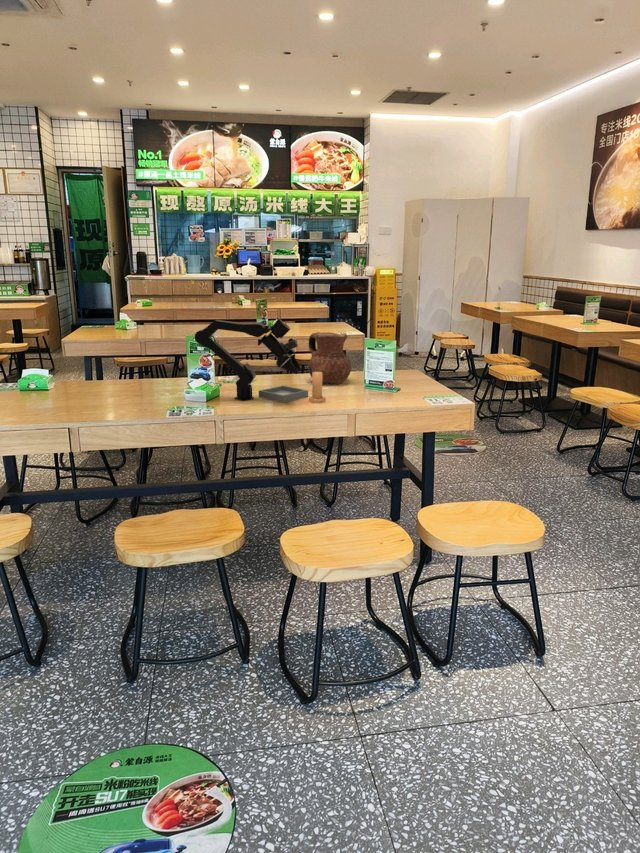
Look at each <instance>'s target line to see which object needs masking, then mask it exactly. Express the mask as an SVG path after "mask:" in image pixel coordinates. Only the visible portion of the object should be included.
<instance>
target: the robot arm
mask: <svg viewBox="0 0 640 853" xmlns="http://www.w3.org/2000/svg"><path fill="white" fill-rule="evenodd" d="M218 330H222V331H230V332H236V333H237V332H238V333H244V334H246V335H249V336H252V337H255V338H258V339H257V346H261V345H264V347H266V348H267V350H268V351H270V354H271V355H273V356H274V357H275V358H276V362H275V363H276V366H277V367H278V368H280V369H283V370H286V371H289V372H291V373H294V374H295V375H298V374H299V371H300V370H301V369H302V368H301V366H300V364H299V362H298V361H297V358H296V351H295V350H294V349H296V348H298V347H299V344H298V340H296V338H295V339H294V338H292V337H291V338H289V339H288V340H287V341H288V342H285V343H283V342H280V341H279V340H278V339H283V337H284V336H285V335H286V334H288V333H289V332H290V331H291V327H290V326H289V325H288V324H287V323H286V322H284V321H283V320H282V319H280V318H278V319H277V320H276V321H275V323H274V324H273V325H271V326H270V325H265V324H264V323H263V322H248V323H247V322H246V323H244V322H236V321H229V320H228V321H227V320H220V319H214V320H213V321H212V322H211V323H210V324H209V325H207V326H206V327H204V328H203V329H200V330H198V331H196V332H195V334H194V341H195V342H196V343H197V344H199V345H201V346H202V347H204V348H207V349H208V350H210V351H211V352H212V353H214V354H215V355H216V356H217V357H218V358H220V359H221V360H222V361H223V362H224V363H226V365H228V367H230V368H231V370H233V371H234V372H235V374H236V375H237V377H238V378H239V379H237V381H236V382H235V385H236V397H234V399H235V400H240V401H249V400H255V397H254V396H253V388H252V387H253V386H252V382H253V381H254V380H255V379H256V378H257V377H256V375H257V372H256V371H255V368H254V367H252V366H251V365H250V364H249V362H246V363H245V364H244V363H242V362H240V361H239V360H238V359H237V358H236V357H235V356H234V355H232V354H231V353H230V352H229V351H228V350H227V349H225V348H224V347H223V346H222V345H221V344H220V343H218V341H217V340H216V338H215V337H214V334H215V333H216V332H217V331H218ZM211 337H213V338H214V341H213V340H212V338H211ZM260 337H261V338H260Z"/></svg>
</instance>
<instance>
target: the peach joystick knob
mask: <svg viewBox="0 0 640 853" xmlns="http://www.w3.org/2000/svg"><path fill="white" fill-rule="evenodd" d="M311 379H312V381H311V382H312V384H311V385H312V388H311V390H312V393H311V394H312V396H310V397H308V402H309V403H312V404H314V403H315V404H322V403H324V402H325V403H326V397H324V396H323V384H322V372H312V377H311Z"/></svg>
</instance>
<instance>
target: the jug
mask: <svg viewBox="0 0 640 853" xmlns="http://www.w3.org/2000/svg"><path fill="white" fill-rule="evenodd" d="M348 337H349V336H348V334H347V333H335V332H329V331H328V332H327V331H325V332H319V331H317V332H313V333H310V335H309V338H308V349H309V350H308V351H309V353H310V354H311V357H310V358H309V359H310V360H309V361H308V363H307V364H308V365H307V366H308V367H307V369H308V372H309V375H310V376H311V378H312V372H322V385H339V384H340V385H341V384H343V383H344V382H345V381H347V379H348V378H349V377H350V374H351V372H352V369H353V367H352V363H351V361H350V359H349V357H348V356H347V355H346V354H345V352H344V345H345V342H346V340H347V339H348ZM316 346H317V347H316Z"/></svg>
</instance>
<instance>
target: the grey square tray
mask: <svg viewBox="0 0 640 853" xmlns="http://www.w3.org/2000/svg"><path fill="white" fill-rule="evenodd" d="M258 397H259V398H262V399H266V400H271V401H275V402H280V403H289V402H292V401H297V400H300V399H305V398H309V390H307V389H304V388H297V387H294V386H287V385H279V386H275V387H270V388H269V387H268V388H265V389H260V390H258Z"/></svg>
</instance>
